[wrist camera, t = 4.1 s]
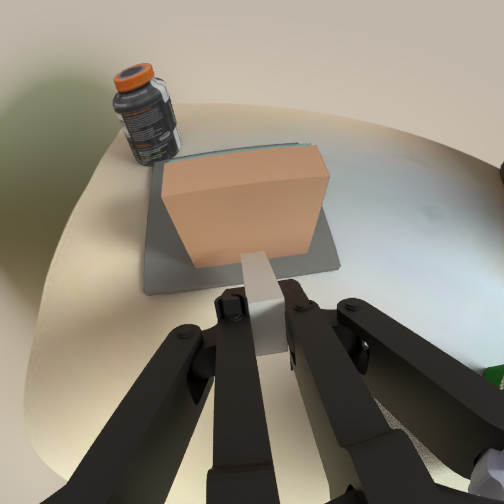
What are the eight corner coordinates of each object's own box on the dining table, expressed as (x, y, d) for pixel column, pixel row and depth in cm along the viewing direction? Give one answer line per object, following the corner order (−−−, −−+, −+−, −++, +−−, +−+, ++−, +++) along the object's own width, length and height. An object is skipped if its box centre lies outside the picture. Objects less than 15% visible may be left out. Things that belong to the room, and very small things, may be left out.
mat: (297, 148, 29) (298, 142, 28) (338, 269, 22) (340, 265, 21) (156, 167, 28) (154, 162, 28) (147, 295, 21) (143, 292, 21)
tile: (299, 222, 23) (314, 141, 15) (307, 253, 22) (329, 175, 14) (194, 236, 23) (165, 159, 15) (195, 268, 22) (161, 196, 14)
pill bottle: (190, 136, 31) (172, 55, 21) (168, 170, 28) (139, 82, 18) (150, 134, 32) (126, 61, 22) (127, 165, 29) (92, 88, 19)
